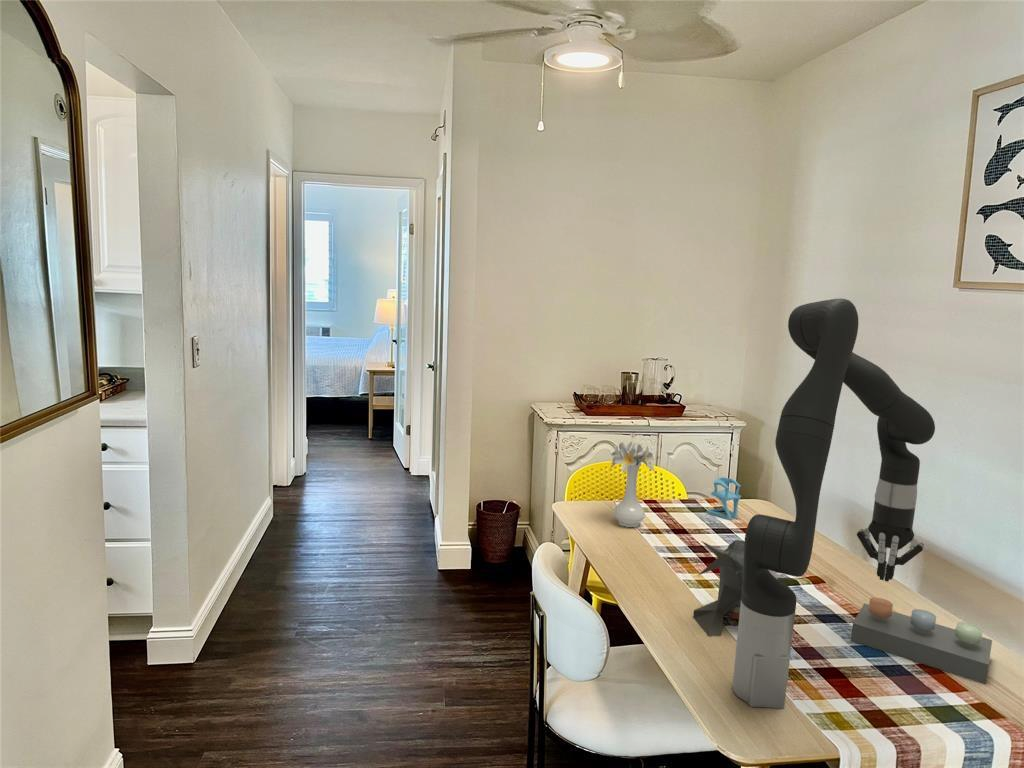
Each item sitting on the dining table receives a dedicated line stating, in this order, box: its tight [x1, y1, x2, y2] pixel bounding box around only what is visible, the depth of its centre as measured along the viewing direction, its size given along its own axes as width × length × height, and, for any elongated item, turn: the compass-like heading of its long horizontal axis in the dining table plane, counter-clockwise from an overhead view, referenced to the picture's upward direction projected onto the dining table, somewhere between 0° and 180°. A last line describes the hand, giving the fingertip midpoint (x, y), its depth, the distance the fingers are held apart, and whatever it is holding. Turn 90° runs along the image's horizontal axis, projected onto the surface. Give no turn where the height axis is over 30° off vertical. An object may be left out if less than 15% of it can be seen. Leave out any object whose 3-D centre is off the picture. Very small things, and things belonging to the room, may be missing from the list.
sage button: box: [955, 621, 984, 644], centre depth 141 cm, size 4×4×2 cm
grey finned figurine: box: [692, 539, 745, 637], centre depth 155 cm, size 14×15×18 cm
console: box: [850, 603, 993, 684], centre depth 147 cm, size 24×12×4 cm, turn 53°
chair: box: [706, 476, 742, 521], centre depth 224 cm, size 8×8×12 cm
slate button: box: [910, 608, 937, 631], centre depth 146 cm, size 4×4×2 cm
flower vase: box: [609, 441, 655, 528], centre depth 212 cm, size 13×18×25 cm
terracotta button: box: [868, 597, 894, 618], centre depth 151 cm, size 4×4×2 cm
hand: (884, 579), depth 150 cm, fingers closed
